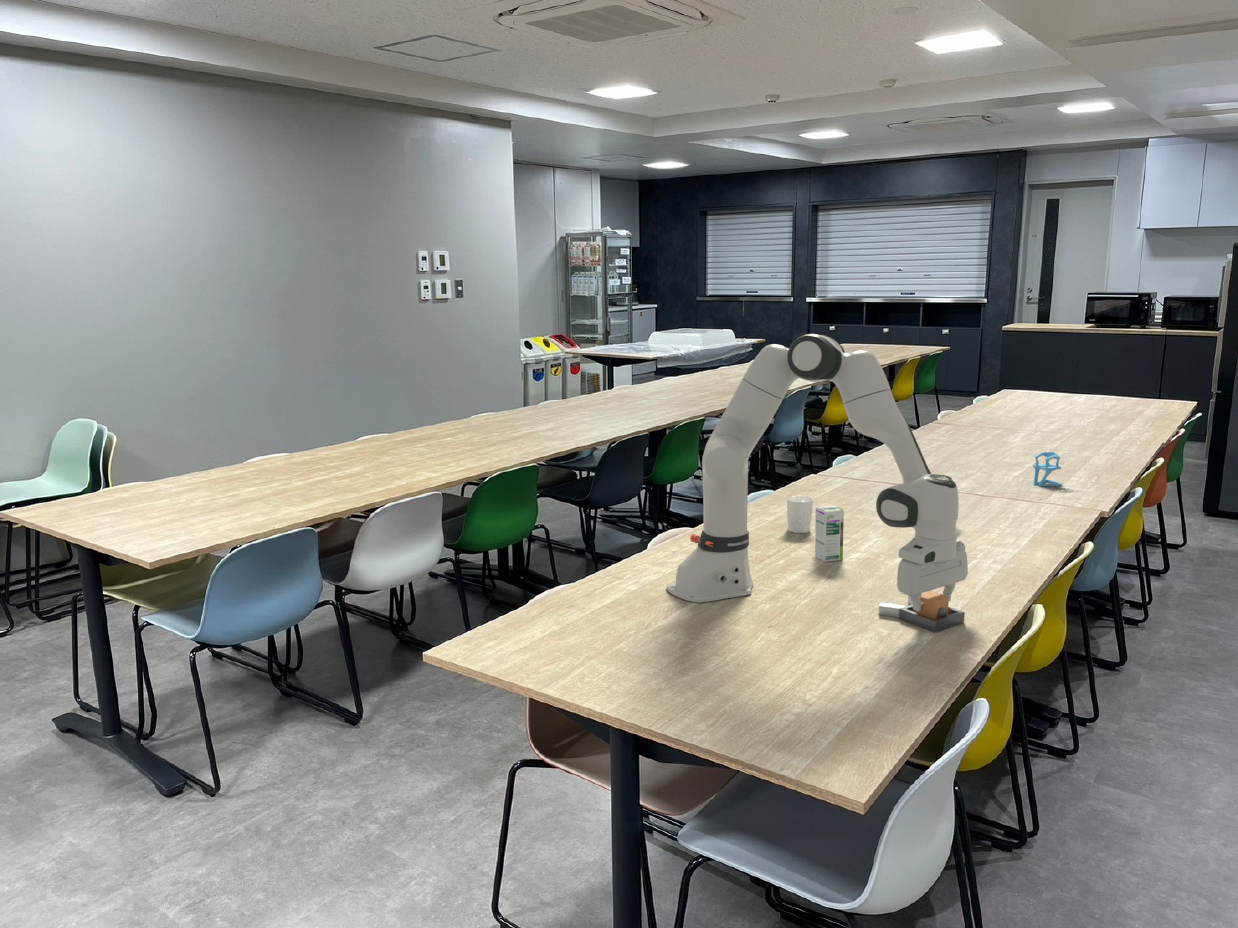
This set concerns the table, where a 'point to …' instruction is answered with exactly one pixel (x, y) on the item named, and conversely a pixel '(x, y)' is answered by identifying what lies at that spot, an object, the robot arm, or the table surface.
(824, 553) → the syrup box
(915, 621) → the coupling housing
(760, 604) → the table surface
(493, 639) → the table surface
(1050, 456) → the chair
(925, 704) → the table surface
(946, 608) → the block
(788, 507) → the white cup
